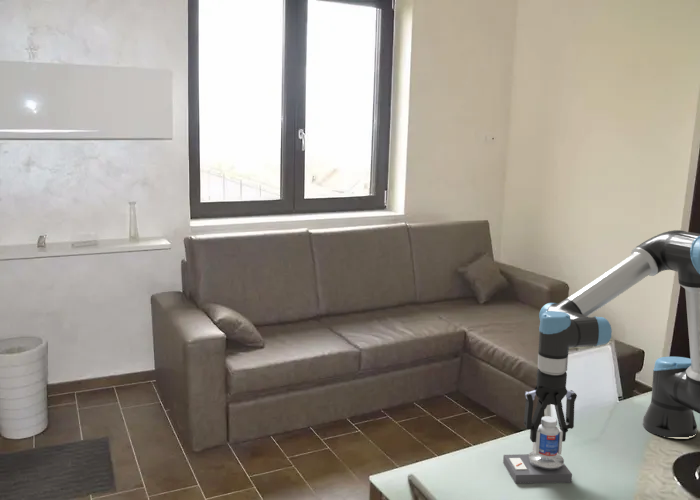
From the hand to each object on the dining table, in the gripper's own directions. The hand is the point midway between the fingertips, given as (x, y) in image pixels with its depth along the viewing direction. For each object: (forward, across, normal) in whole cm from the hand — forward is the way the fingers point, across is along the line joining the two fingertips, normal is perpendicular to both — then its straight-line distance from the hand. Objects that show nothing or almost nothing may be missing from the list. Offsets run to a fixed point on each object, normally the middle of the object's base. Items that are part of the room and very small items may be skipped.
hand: (546, 452), depth 171 cm
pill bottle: (+1, 0, 0) cm, 1 cm away
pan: (+3, 0, 0) cm, 3 cm away
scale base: (+6, +3, 0) cm, 6 cm away
